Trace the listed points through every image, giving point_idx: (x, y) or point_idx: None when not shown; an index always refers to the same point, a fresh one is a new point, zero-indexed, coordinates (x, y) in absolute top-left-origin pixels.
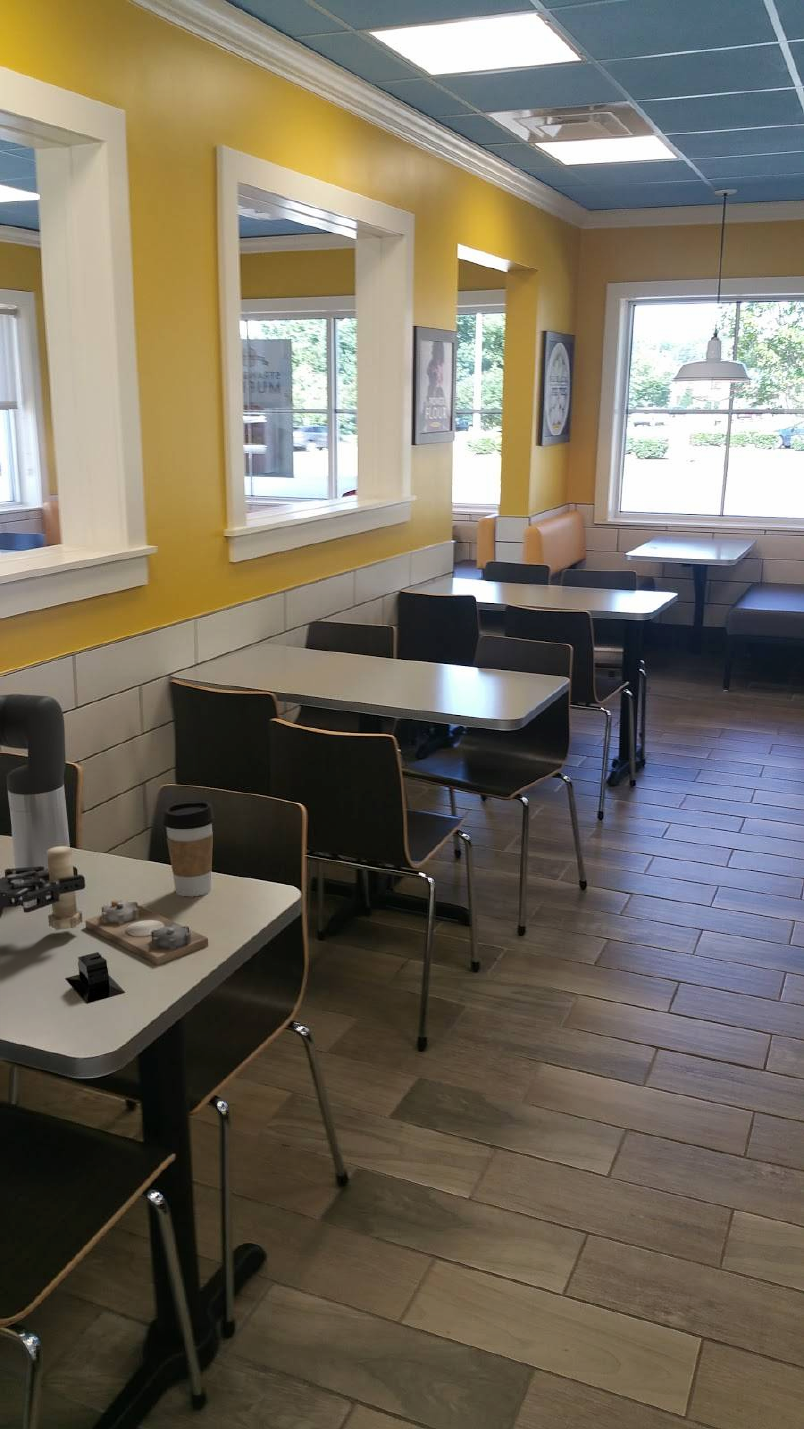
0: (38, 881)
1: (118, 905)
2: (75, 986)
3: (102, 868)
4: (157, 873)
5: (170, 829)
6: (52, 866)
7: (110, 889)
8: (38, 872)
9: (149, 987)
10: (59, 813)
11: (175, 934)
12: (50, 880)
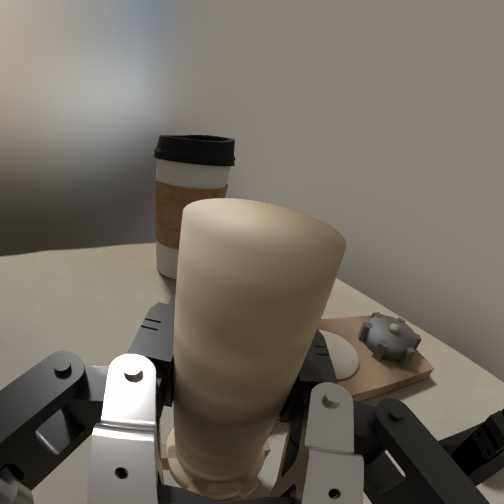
0: (361, 471)
1: None
2: (481, 478)
3: (4, 275)
4: (87, 260)
5: (196, 169)
6: (302, 340)
7: (67, 309)
8: (118, 412)
9: (479, 394)
10: None
11: (401, 329)
12: (316, 416)
